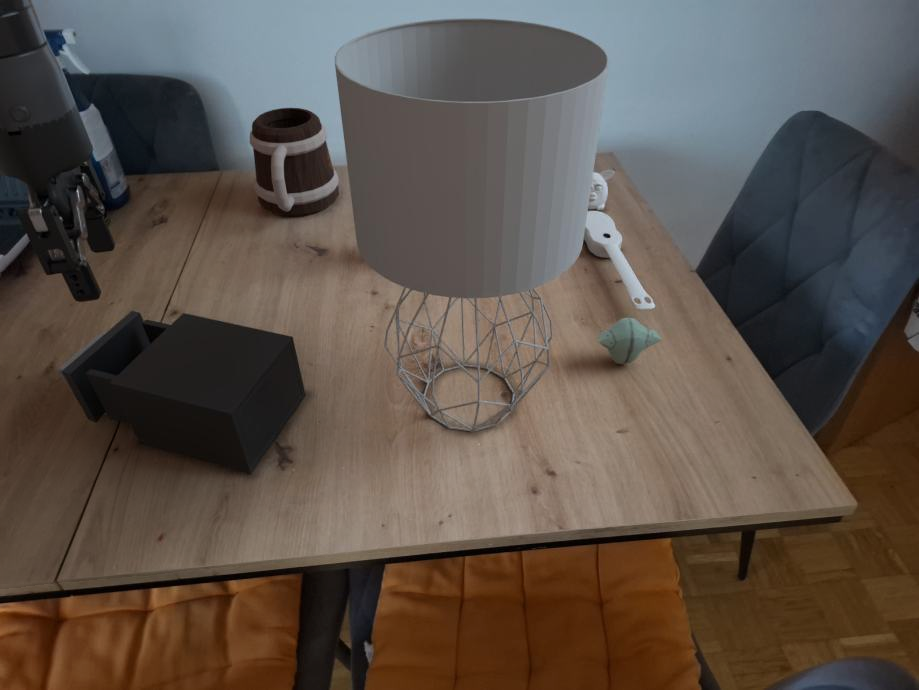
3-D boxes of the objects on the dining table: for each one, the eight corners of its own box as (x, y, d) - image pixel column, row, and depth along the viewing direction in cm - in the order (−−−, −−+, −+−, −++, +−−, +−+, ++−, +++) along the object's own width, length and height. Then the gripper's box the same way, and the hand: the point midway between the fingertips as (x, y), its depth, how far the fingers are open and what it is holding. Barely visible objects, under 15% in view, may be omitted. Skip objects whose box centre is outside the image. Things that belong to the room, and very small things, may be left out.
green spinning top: (594, 373, 82) (602, 332, 77) (588, 352, 85) (595, 312, 80) (656, 371, 82) (667, 330, 78) (647, 350, 85) (657, 310, 81)
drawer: (58, 412, 75) (29, 363, 70) (124, 351, 83) (102, 304, 78) (187, 447, 71) (166, 398, 66) (243, 380, 79) (228, 331, 74)
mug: (267, 180, 123) (250, 102, 113) (345, 179, 123) (335, 101, 113) (242, 234, 108) (220, 149, 98) (331, 233, 108) (318, 148, 98)
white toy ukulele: (662, 322, 90) (667, 306, 88) (623, 325, 89) (626, 309, 87) (604, 222, 111) (607, 208, 109) (572, 224, 110) (574, 209, 108)
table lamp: (338, 404, 77) (276, 58, 51) (456, 317, 90) (455, 6, 64) (482, 503, 66) (497, 128, 40) (593, 388, 80) (658, 48, 54)
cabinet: (139, 443, 73) (109, 383, 66) (204, 371, 82) (183, 312, 76) (251, 474, 69) (230, 414, 63) (306, 396, 78) (293, 336, 72)
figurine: (569, 213, 113) (573, 179, 109) (561, 196, 118) (565, 162, 114) (613, 211, 114) (619, 176, 110) (603, 194, 119) (608, 160, 114)
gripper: (-3, 81, 56) (70, 241, 66) (-61, 146, 45) (37, 323, 56) (89, 74, 57) (146, 232, 68) (53, 136, 47) (128, 311, 57)
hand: (97, 273), depth 62 cm, fingers open, 8 cm apart
